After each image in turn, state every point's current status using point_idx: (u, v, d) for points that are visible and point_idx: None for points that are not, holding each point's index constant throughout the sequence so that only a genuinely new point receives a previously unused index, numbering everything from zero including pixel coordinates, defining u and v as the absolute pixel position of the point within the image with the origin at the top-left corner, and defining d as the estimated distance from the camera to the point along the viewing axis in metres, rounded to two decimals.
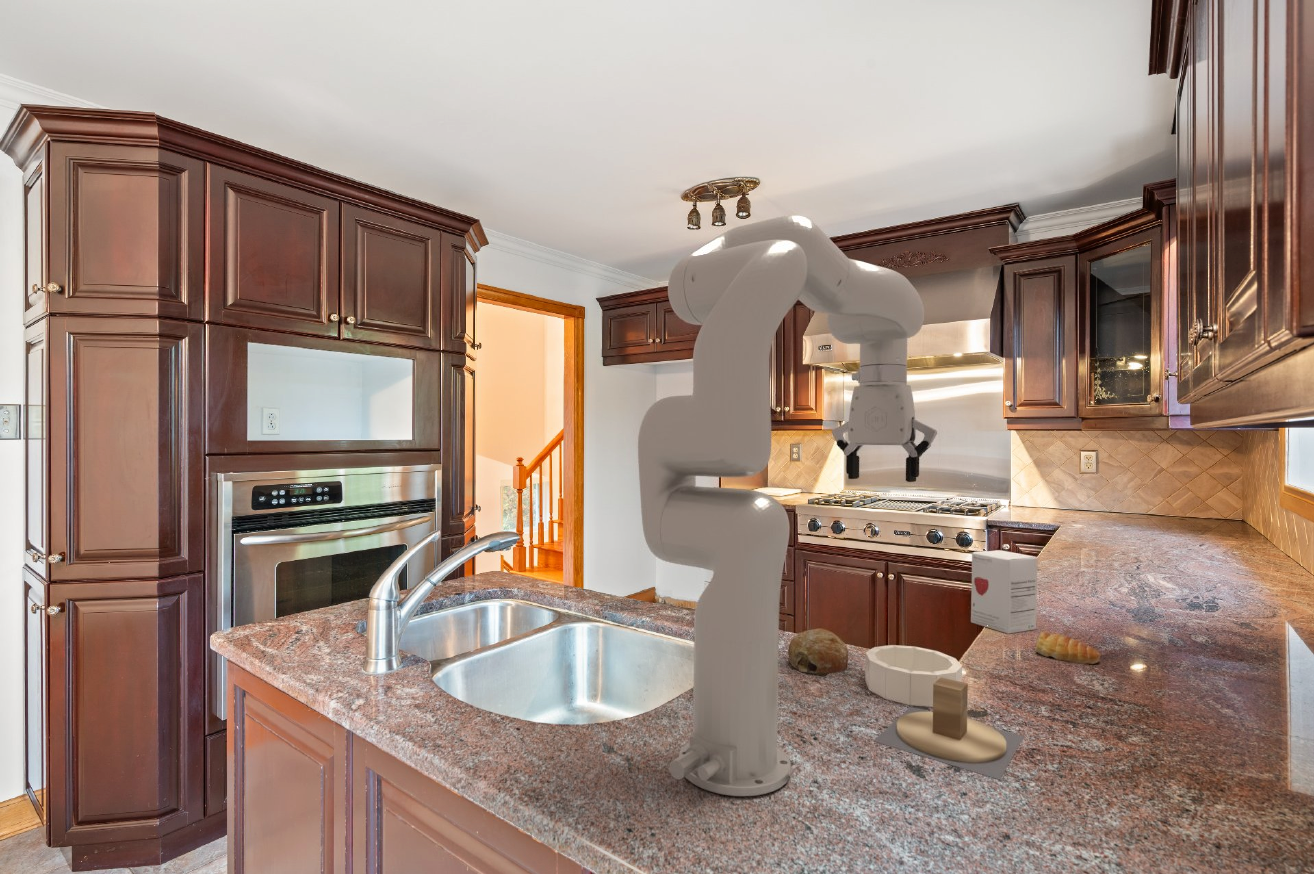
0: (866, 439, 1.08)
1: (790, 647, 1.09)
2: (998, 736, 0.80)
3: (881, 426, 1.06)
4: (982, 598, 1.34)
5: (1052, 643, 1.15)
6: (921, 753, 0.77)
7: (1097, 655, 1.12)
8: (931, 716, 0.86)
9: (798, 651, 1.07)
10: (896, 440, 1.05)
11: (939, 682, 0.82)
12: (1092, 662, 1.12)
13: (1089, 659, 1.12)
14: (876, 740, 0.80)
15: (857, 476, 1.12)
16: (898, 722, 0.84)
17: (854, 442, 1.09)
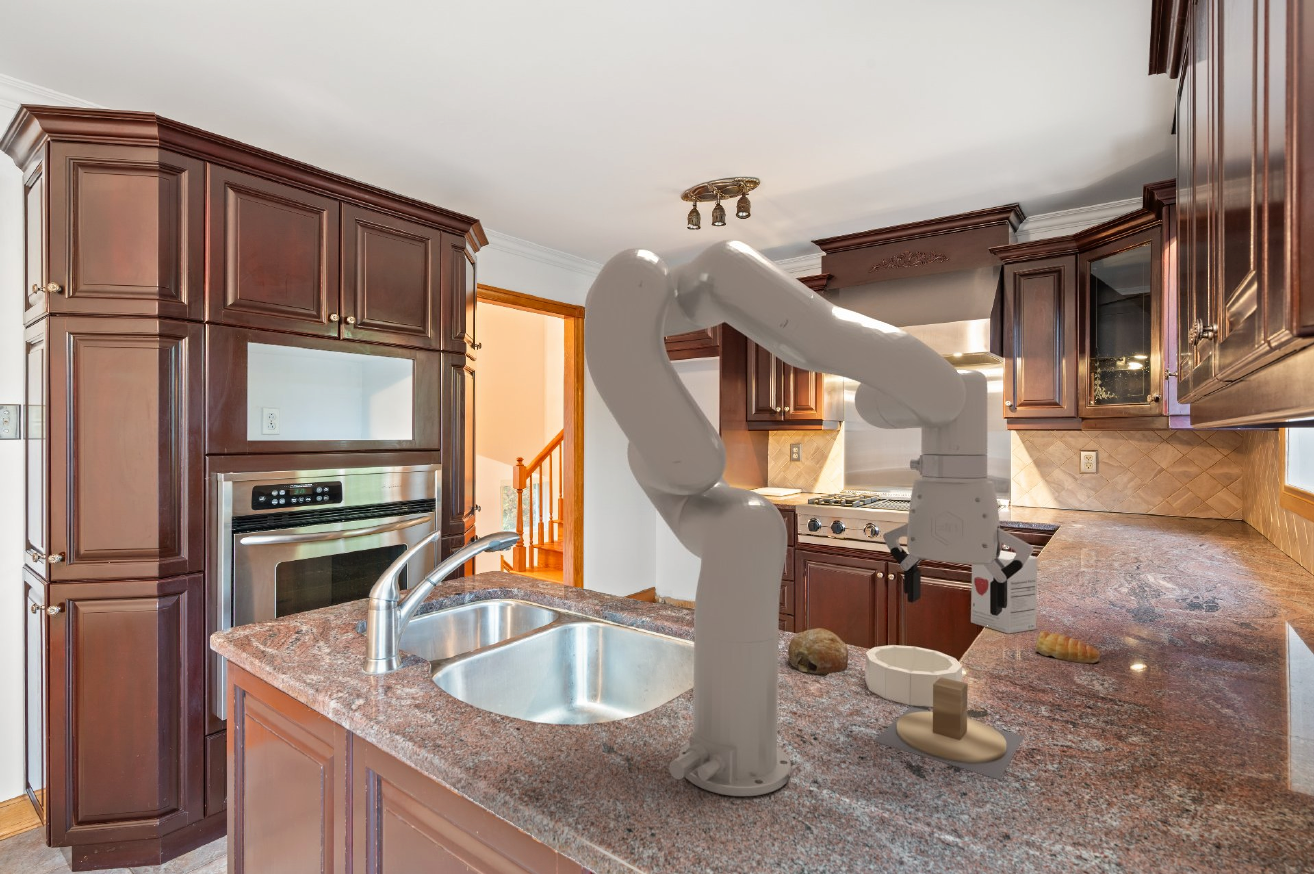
0: (933, 554, 0.80)
1: (790, 647, 1.09)
2: (998, 736, 0.80)
3: (955, 538, 0.79)
4: (982, 598, 1.34)
5: (1052, 642, 1.15)
6: (921, 753, 0.77)
7: (1097, 654, 1.13)
8: (931, 716, 0.86)
9: (798, 651, 1.07)
10: (977, 559, 0.77)
11: (939, 682, 0.82)
12: (1092, 661, 1.12)
13: (1089, 658, 1.12)
14: (876, 740, 0.80)
15: (918, 596, 0.85)
16: (898, 722, 0.84)
17: (916, 556, 0.82)
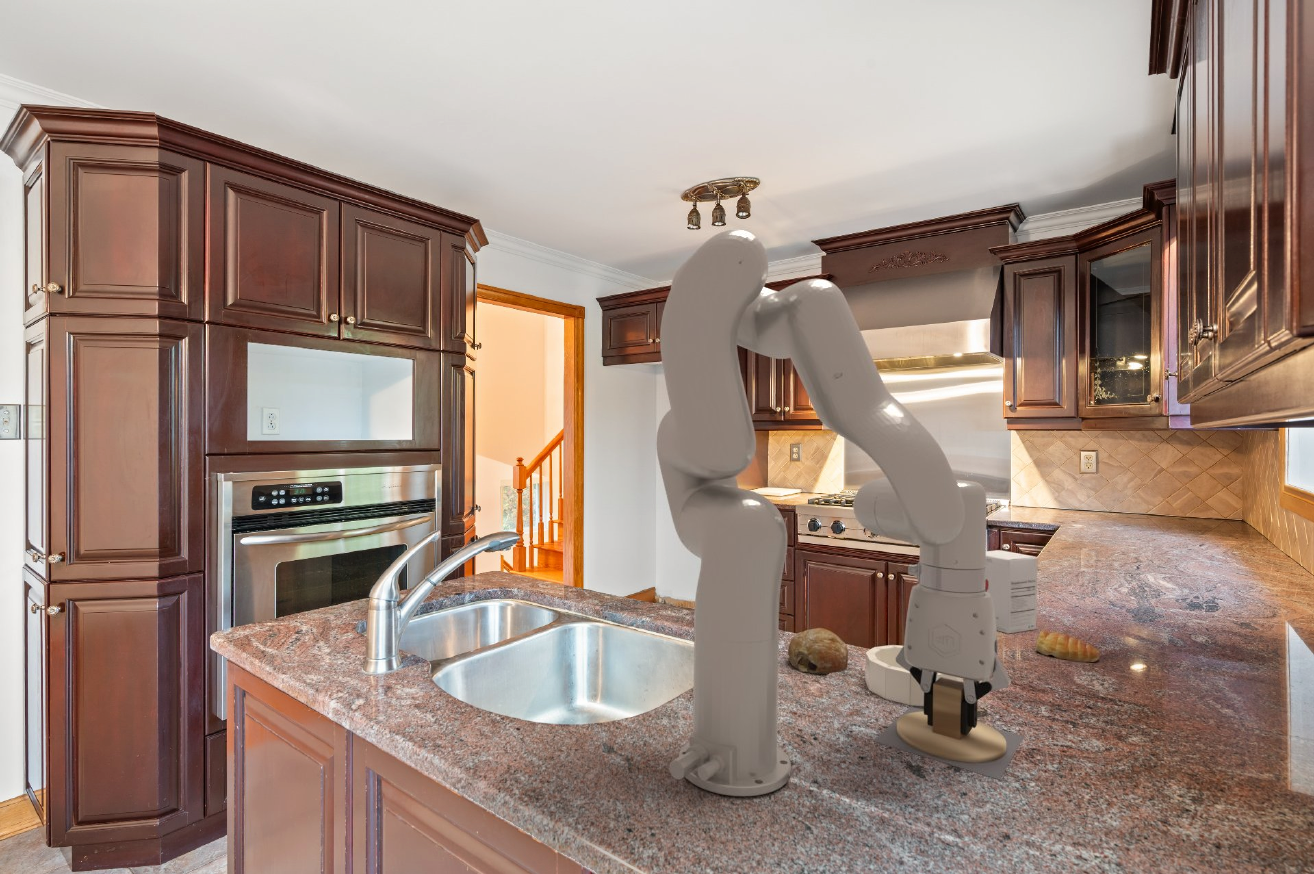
0: (930, 665, 0.80)
1: (790, 647, 1.09)
2: (998, 736, 0.80)
3: (952, 651, 0.78)
4: None
5: (1052, 641, 1.16)
6: (921, 753, 0.77)
7: (1097, 653, 1.13)
8: None
9: (798, 651, 1.07)
10: (974, 675, 0.77)
11: (939, 681, 0.82)
12: (1092, 660, 1.13)
13: (1089, 657, 1.13)
14: (876, 740, 0.80)
15: None
16: (898, 722, 0.84)
17: (913, 665, 0.81)
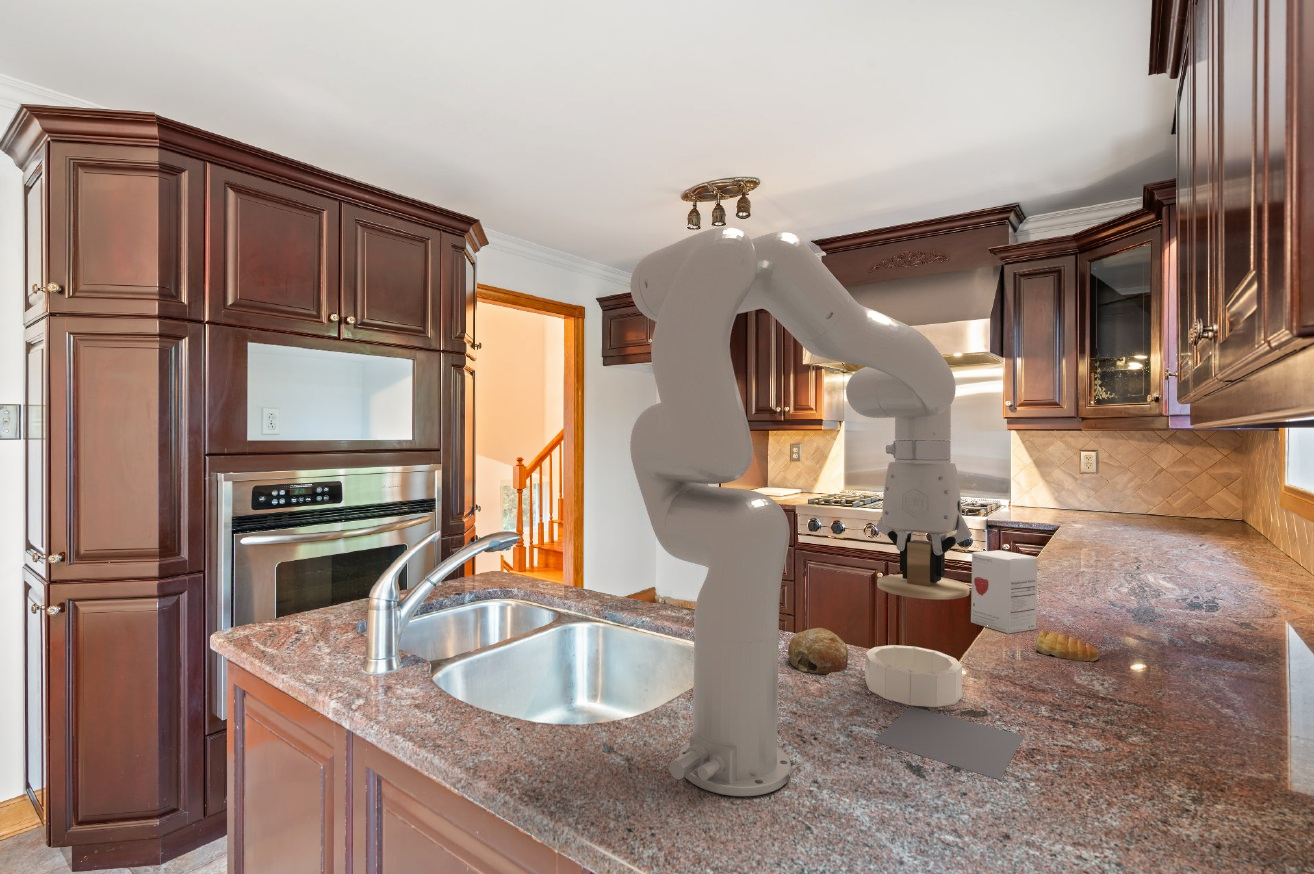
0: (904, 525, 0.94)
1: (790, 646, 1.09)
2: (963, 585, 0.94)
3: (921, 511, 0.92)
4: (982, 598, 1.34)
5: (1052, 641, 1.16)
6: (921, 753, 0.77)
7: (1096, 652, 1.14)
8: None
9: (798, 650, 1.07)
10: (940, 529, 0.90)
11: (913, 541, 0.95)
12: (1092, 659, 1.13)
13: (1089, 657, 1.13)
14: (876, 740, 0.80)
15: None
16: (878, 579, 0.98)
17: (890, 527, 0.95)
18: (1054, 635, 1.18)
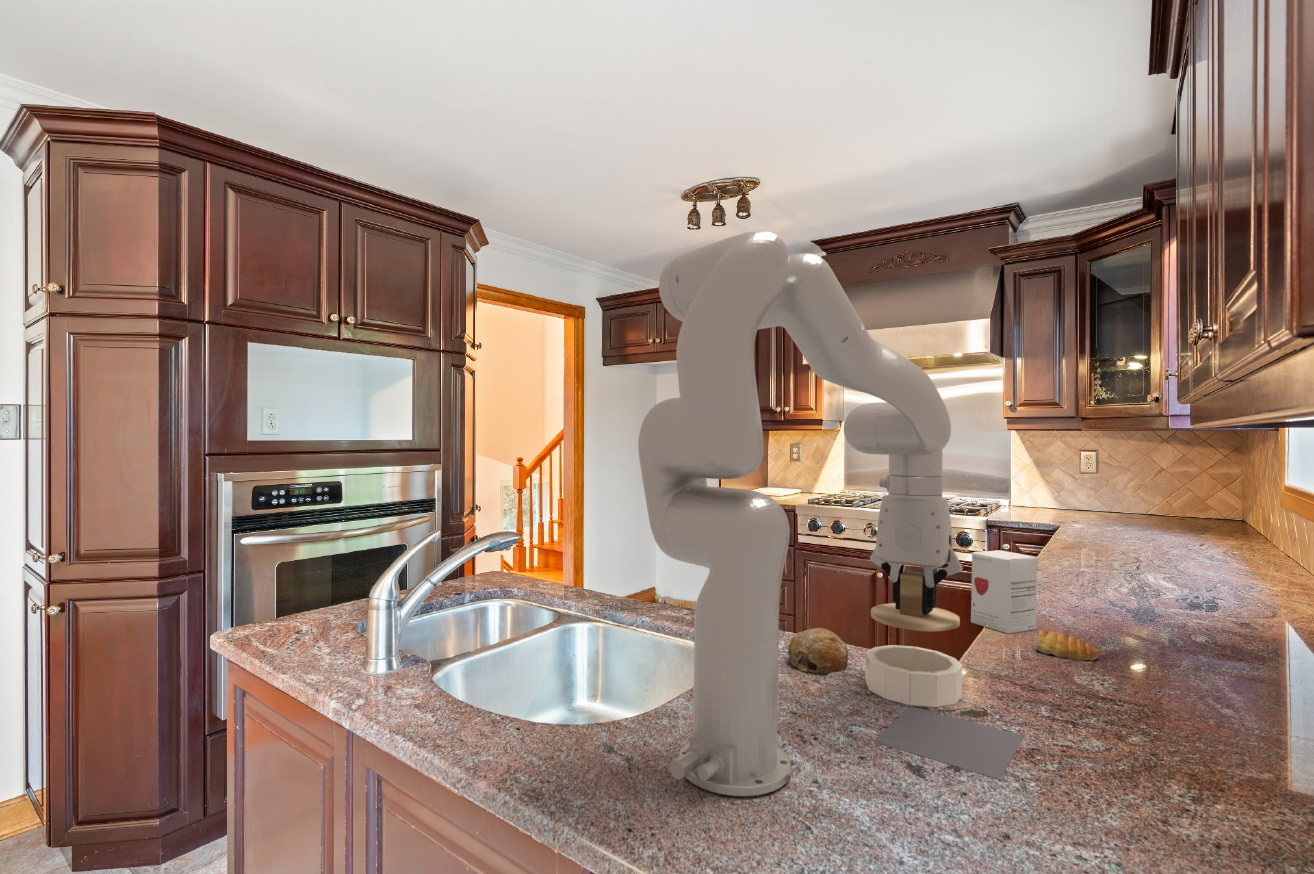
0: (897, 558, 0.97)
1: (790, 646, 1.09)
2: (953, 615, 0.97)
3: (914, 545, 0.95)
4: (982, 598, 1.34)
5: (1052, 640, 1.16)
6: (921, 753, 0.77)
7: (1096, 651, 1.14)
8: None
9: (798, 650, 1.07)
10: (932, 562, 0.93)
11: (906, 573, 0.98)
12: (1092, 658, 1.13)
13: (1088, 656, 1.13)
14: (876, 740, 0.80)
15: None
16: (872, 608, 1.00)
17: (883, 559, 0.98)
18: (1054, 634, 1.18)
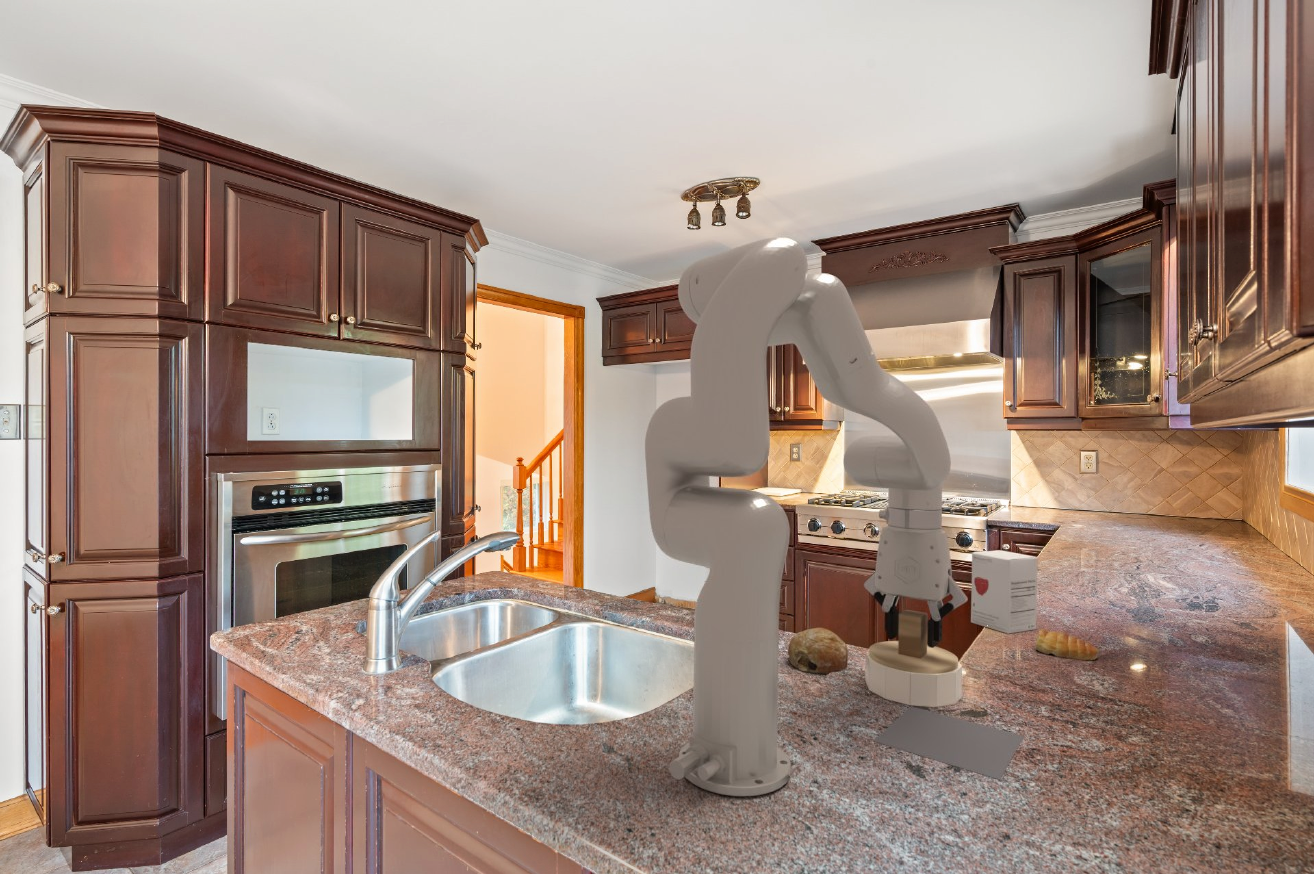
0: (896, 591, 0.96)
1: (790, 646, 1.09)
2: (952, 656, 0.97)
3: (913, 578, 0.95)
4: (982, 598, 1.34)
5: (1052, 640, 1.17)
6: (921, 753, 0.77)
7: (1096, 651, 1.14)
8: None
9: (798, 650, 1.07)
10: (931, 596, 0.93)
11: (904, 612, 0.98)
12: (1091, 658, 1.14)
13: (1088, 656, 1.14)
14: (876, 740, 0.80)
15: (897, 634, 1.00)
16: (870, 647, 1.00)
17: (882, 591, 0.98)
18: (1054, 634, 1.18)
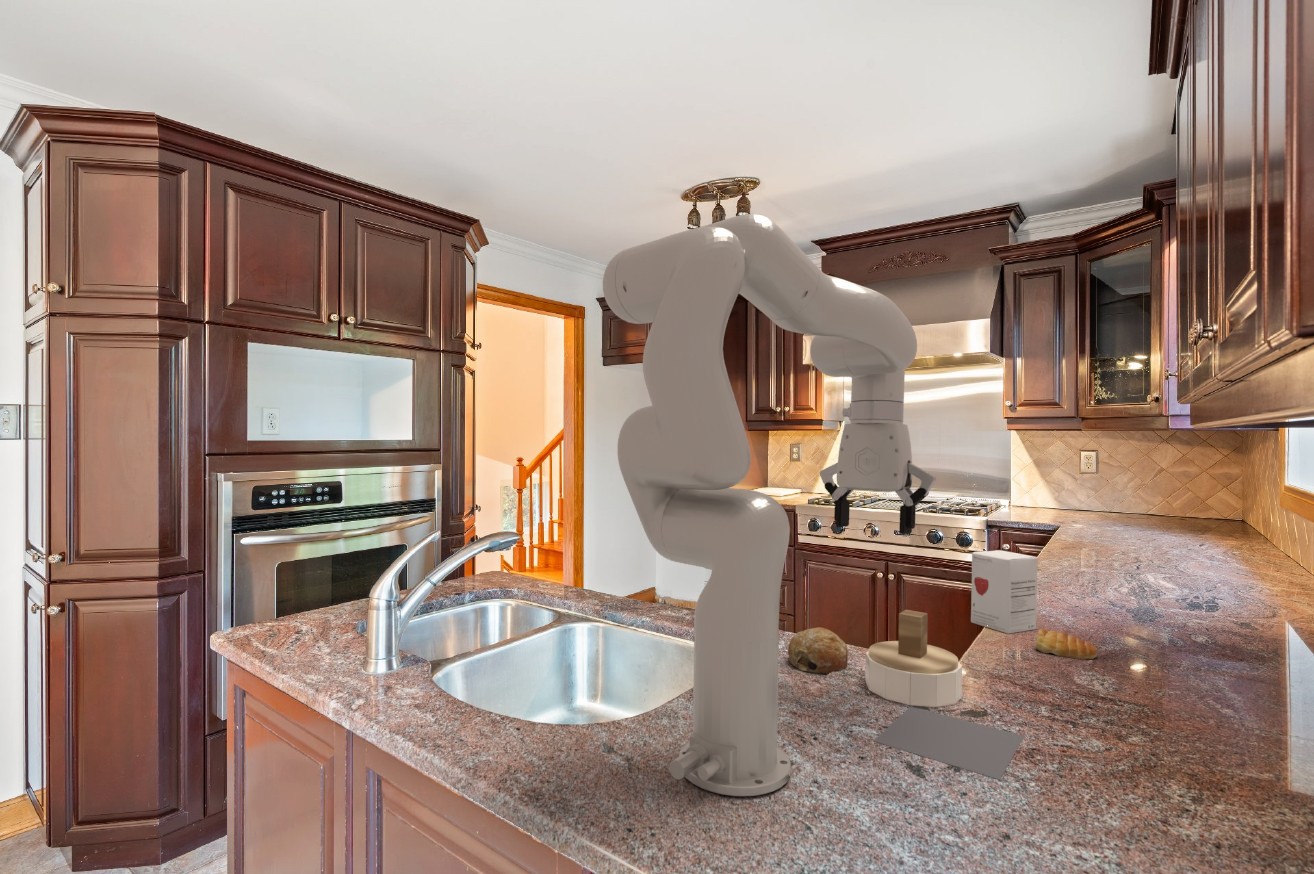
0: (856, 484, 0.96)
1: (790, 646, 1.09)
2: (952, 656, 0.97)
3: (873, 470, 0.95)
4: (982, 598, 1.34)
5: (1052, 640, 1.17)
6: (921, 753, 0.77)
7: (1095, 650, 1.15)
8: None
9: (798, 650, 1.07)
10: (890, 486, 0.93)
11: (904, 612, 0.98)
12: (1091, 657, 1.14)
13: (1088, 655, 1.14)
14: (876, 740, 0.80)
15: (846, 524, 1.00)
16: (870, 647, 1.00)
17: (843, 486, 0.98)
18: (1053, 633, 1.18)
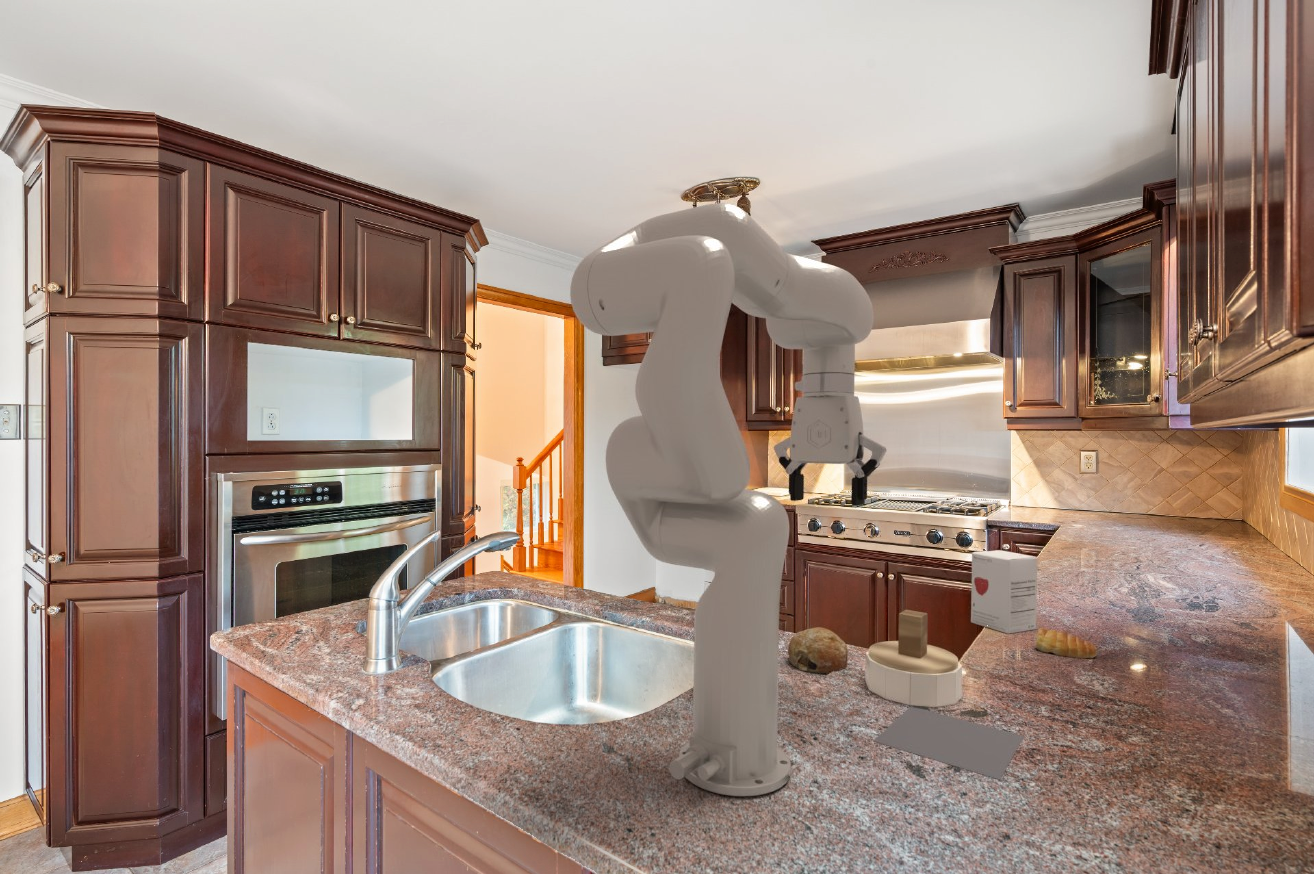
0: (809, 457, 0.96)
1: (790, 646, 1.09)
2: (952, 656, 0.97)
3: (824, 442, 0.94)
4: (982, 598, 1.34)
5: (1052, 639, 1.17)
6: (921, 753, 0.77)
7: (1095, 649, 1.15)
8: None
9: (798, 650, 1.07)
10: (841, 458, 0.93)
11: (904, 612, 0.98)
12: (1091, 656, 1.15)
13: (1088, 654, 1.15)
14: (876, 740, 0.80)
15: (801, 497, 1.00)
16: (870, 647, 1.00)
17: (796, 460, 0.97)
18: (1053, 633, 1.19)
